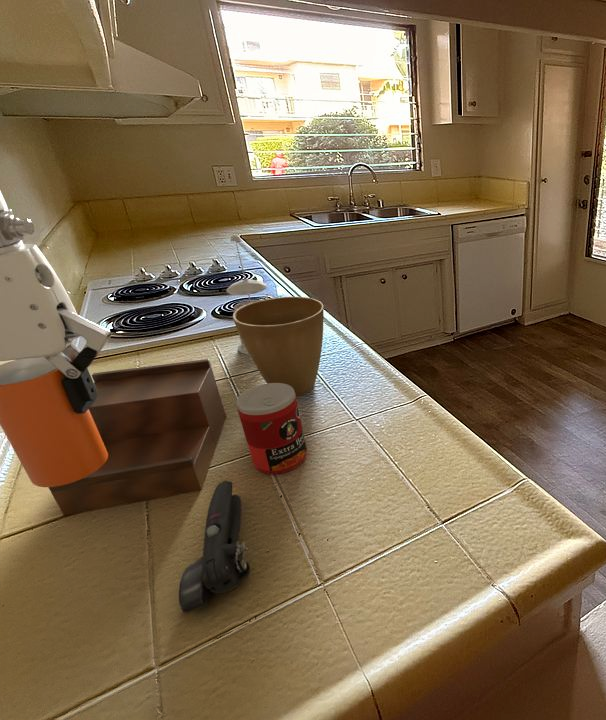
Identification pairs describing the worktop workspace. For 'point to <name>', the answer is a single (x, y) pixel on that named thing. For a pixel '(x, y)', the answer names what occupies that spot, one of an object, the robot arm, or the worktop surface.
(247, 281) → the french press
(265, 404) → the canned food
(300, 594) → the worktop surface
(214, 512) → the can opener
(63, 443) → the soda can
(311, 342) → the plant pot
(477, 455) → the worktop surface
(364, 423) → the worktop surface
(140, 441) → the step shelf
